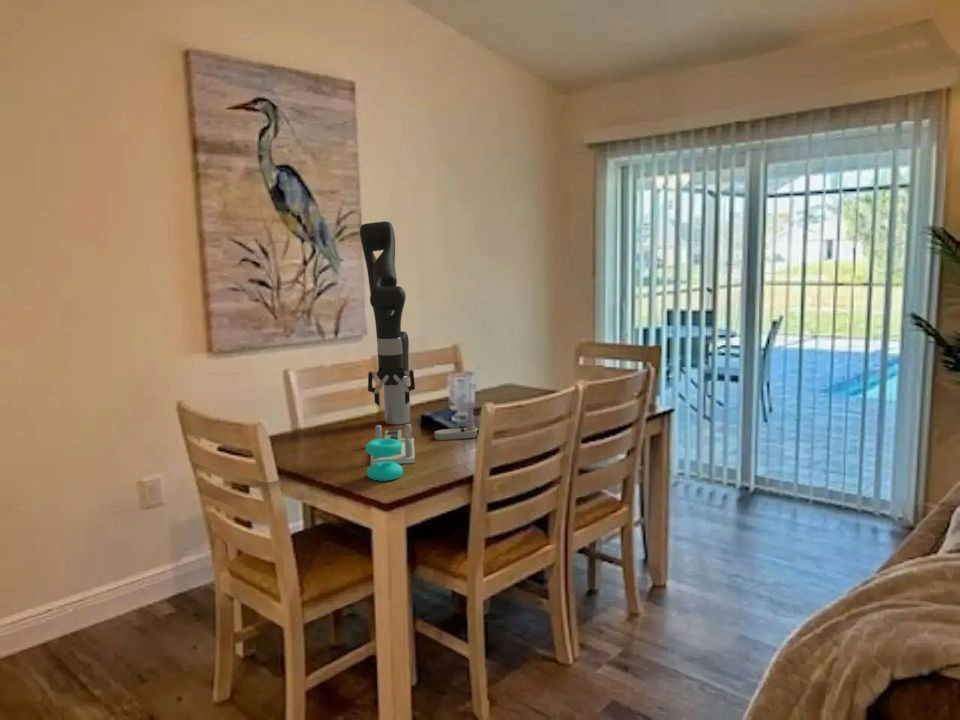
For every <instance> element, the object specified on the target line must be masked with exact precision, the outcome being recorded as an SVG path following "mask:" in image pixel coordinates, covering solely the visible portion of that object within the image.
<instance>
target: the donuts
mask: <svg viewBox="0 0 960 720" xmlns="http://www.w3.org/2000/svg"><path fill="white" fill-rule="evenodd" d="M401 449H402V444H401V442H400V441H398V440H395V439H385V438H382V439H377V440H375V439H373V440H370V441H369V442H368V443H366V446H365V451H366V453H367V454H369V456H371V455H372V456H375V457H390V456H394V455H396V454H398V453H399V452H400V451H401ZM403 469H404V468H403V467H402V465H400V464H397V463H395V462H378V463H375V464H373V465H371V464H370V466H368V468H367V470H366V474H367V477H368V479H370V480H372V479H373V481H376V480H378V482H388V480H389V481H393V480H397V479H398V478H400V477H401V476H402V475H403V473H404V470H403Z"/></svg>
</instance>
